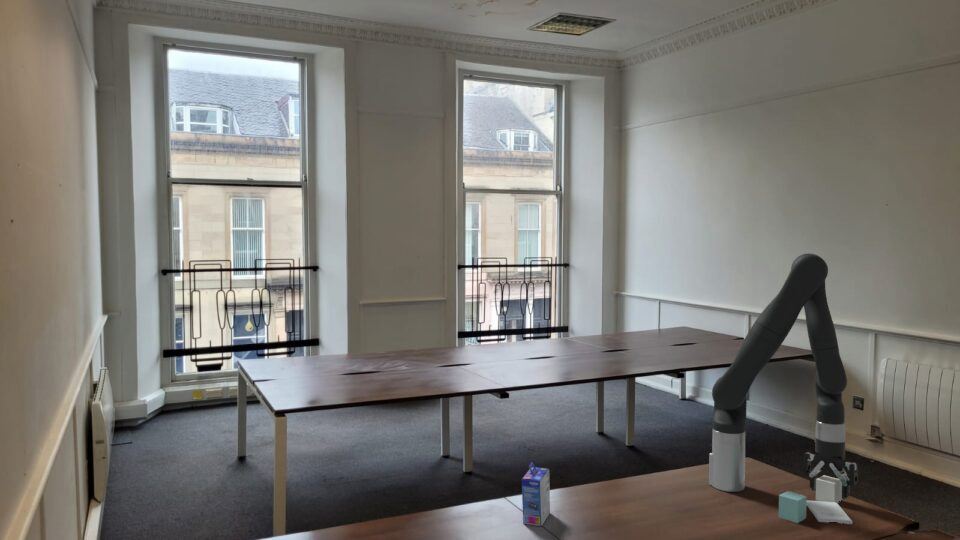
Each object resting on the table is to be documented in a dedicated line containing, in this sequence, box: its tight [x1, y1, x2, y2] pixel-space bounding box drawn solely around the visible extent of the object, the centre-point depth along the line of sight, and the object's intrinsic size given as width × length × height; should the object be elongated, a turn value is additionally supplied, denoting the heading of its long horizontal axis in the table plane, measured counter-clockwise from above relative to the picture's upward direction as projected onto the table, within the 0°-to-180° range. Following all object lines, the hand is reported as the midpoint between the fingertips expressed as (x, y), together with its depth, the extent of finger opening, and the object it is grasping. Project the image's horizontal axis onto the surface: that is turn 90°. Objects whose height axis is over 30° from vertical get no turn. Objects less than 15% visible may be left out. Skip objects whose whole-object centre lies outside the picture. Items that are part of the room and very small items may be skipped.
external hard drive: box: [806, 499, 853, 525], centre depth 183 cm, size 2×8×12 cm
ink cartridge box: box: [521, 461, 551, 527], centre depth 180 cm, size 10×6×14 cm, turn 161°
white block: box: [815, 474, 843, 504], centre depth 192 cm, size 5×5×6 cm
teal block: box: [778, 490, 807, 524], centre depth 180 cm, size 5×5×6 cm
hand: (829, 494), depth 192 cm, fingers open, 8 cm apart
